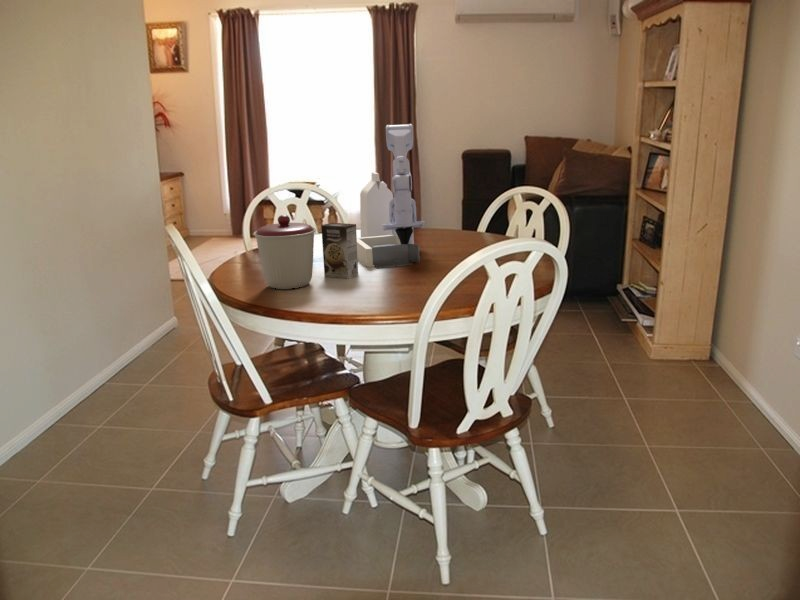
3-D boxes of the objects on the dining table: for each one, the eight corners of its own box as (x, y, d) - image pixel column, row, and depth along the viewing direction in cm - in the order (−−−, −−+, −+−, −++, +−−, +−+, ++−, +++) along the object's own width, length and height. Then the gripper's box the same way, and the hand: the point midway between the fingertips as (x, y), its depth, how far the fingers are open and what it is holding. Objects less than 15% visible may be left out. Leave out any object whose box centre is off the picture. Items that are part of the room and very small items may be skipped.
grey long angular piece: (371, 265, 234) (370, 247, 233) (417, 260, 238) (416, 242, 237) (375, 268, 229) (374, 250, 227) (422, 263, 233) (421, 245, 231)
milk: (360, 239, 282) (357, 172, 275) (388, 236, 284) (385, 170, 277) (367, 244, 270) (363, 175, 263) (396, 241, 273) (393, 173, 266)
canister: (246, 287, 211) (239, 217, 206) (293, 275, 224) (288, 209, 219) (284, 296, 200) (277, 222, 194) (332, 283, 212) (327, 213, 207)
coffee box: (323, 276, 221) (320, 225, 217) (334, 272, 227) (331, 222, 222) (348, 279, 217) (345, 226, 213) (359, 274, 222) (356, 223, 218)
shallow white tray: (352, 254, 252) (351, 237, 251) (401, 250, 257) (400, 233, 255) (367, 267, 232) (366, 249, 230) (419, 262, 236) (418, 244, 235)
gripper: (385, 213, 236) (387, 253, 240) (427, 210, 240) (428, 249, 243) (380, 210, 243) (382, 249, 246) (420, 207, 246) (422, 246, 250)
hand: (404, 249), depth 245 cm, fingers closed
